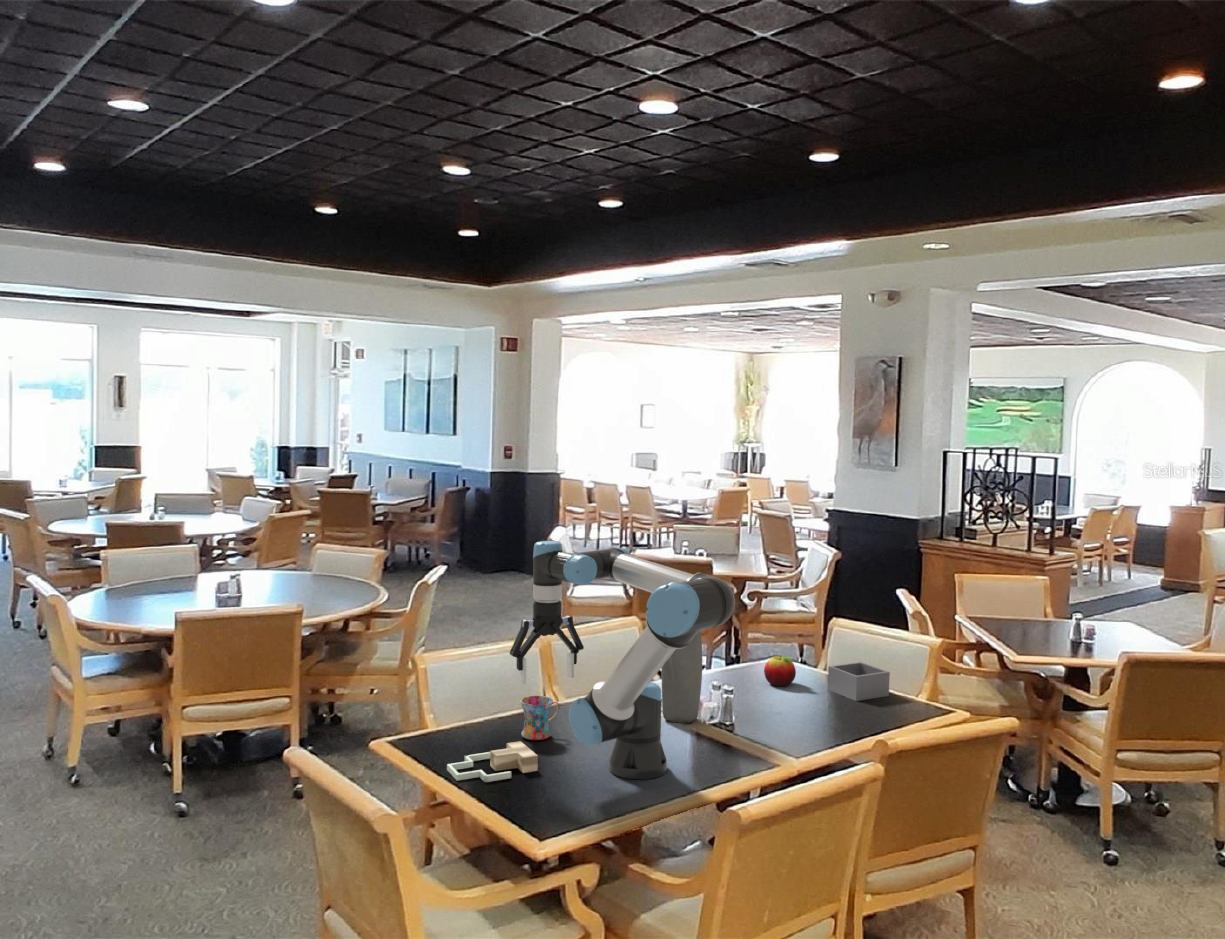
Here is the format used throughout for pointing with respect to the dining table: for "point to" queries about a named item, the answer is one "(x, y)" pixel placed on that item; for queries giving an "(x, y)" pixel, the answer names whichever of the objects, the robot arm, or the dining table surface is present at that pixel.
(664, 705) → the vase
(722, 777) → the dining table surface
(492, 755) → the t block
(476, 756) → the jig
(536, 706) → the mug
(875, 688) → the box
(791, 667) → the fruit
